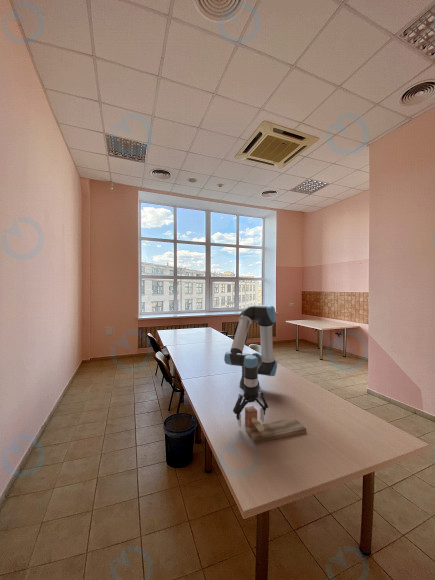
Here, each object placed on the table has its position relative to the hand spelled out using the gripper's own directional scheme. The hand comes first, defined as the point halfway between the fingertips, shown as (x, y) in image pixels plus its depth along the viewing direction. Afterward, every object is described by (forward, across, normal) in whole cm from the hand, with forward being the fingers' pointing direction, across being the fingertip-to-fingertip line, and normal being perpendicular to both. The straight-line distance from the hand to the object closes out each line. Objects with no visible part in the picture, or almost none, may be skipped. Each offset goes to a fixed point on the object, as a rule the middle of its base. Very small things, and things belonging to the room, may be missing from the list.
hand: (250, 422), depth 127 cm
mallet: (+2, 0, -5) cm, 6 cm away
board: (+2, +11, -8) cm, 14 cm away
